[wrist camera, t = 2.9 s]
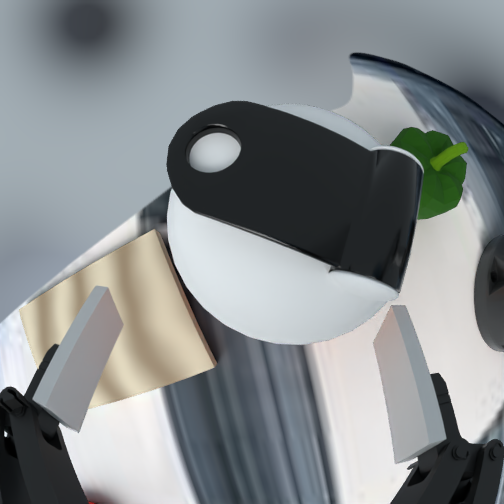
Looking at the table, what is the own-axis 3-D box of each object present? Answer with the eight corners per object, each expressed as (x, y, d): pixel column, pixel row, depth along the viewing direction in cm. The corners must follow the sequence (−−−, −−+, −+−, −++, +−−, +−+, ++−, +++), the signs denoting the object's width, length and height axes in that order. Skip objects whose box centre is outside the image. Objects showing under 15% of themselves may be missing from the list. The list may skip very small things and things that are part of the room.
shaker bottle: (240, 211, 27) (191, 46, 8) (330, 230, 27) (444, 99, 7) (219, 302, 26) (96, 313, 6) (313, 322, 25) (434, 381, 6)
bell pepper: (374, 229, 26) (422, 196, 17) (363, 156, 28) (396, 102, 18) (438, 229, 26) (495, 202, 16) (425, 161, 27) (469, 118, 18)
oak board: (159, 232, 27) (154, 229, 26) (217, 363, 25) (214, 367, 24) (26, 309, 27) (18, 309, 25) (65, 412, 25) (58, 416, 23)
